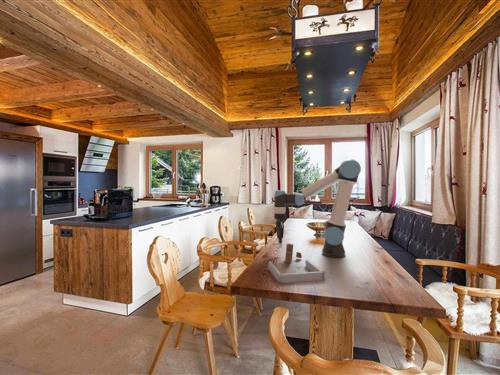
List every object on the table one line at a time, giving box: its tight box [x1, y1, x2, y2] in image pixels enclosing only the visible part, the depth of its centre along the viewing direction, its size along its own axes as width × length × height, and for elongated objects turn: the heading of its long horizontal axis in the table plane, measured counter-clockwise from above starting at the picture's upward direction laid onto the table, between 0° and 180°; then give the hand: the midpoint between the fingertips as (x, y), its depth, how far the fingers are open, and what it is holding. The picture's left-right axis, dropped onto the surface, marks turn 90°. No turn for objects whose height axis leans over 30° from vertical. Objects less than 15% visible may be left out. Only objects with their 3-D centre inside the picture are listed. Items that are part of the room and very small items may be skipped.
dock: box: [268, 259, 326, 284], centre depth 137 cm, size 24×22×4 cm
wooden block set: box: [284, 243, 303, 265], centre depth 158 cm, size 18×9×10 cm, turn 151°
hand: (279, 247), depth 172 cm, fingers closed
